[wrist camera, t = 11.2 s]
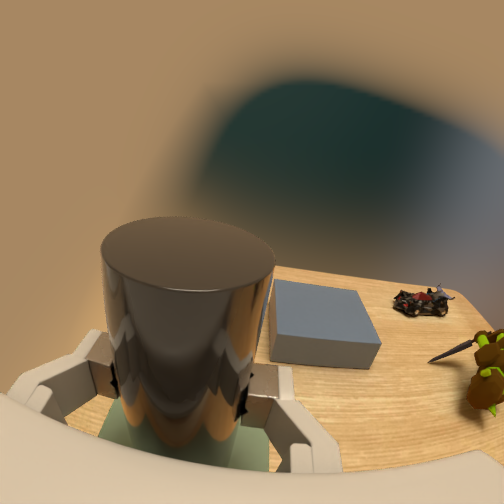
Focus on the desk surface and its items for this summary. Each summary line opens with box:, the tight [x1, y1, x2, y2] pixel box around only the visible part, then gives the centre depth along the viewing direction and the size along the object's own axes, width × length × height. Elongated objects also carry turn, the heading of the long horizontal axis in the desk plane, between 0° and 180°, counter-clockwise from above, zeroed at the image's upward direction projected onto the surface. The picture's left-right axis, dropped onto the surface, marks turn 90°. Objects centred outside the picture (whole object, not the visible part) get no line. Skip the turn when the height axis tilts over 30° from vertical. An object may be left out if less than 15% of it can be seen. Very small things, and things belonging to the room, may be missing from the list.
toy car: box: [393, 285, 455, 316], centre depth 47 cm, size 6×12×4 cm, turn 95°
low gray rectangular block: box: [269, 279, 382, 369], centre depth 37 cm, size 12×12×4 cm
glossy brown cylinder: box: [100, 217, 276, 468], centre depth 9 cm, size 4×4×10 cm
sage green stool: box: [98, 396, 269, 472], centre depth 13 cm, size 8×9×10 cm
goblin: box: [428, 329, 504, 418], centre depth 28 cm, size 10×14×15 cm
